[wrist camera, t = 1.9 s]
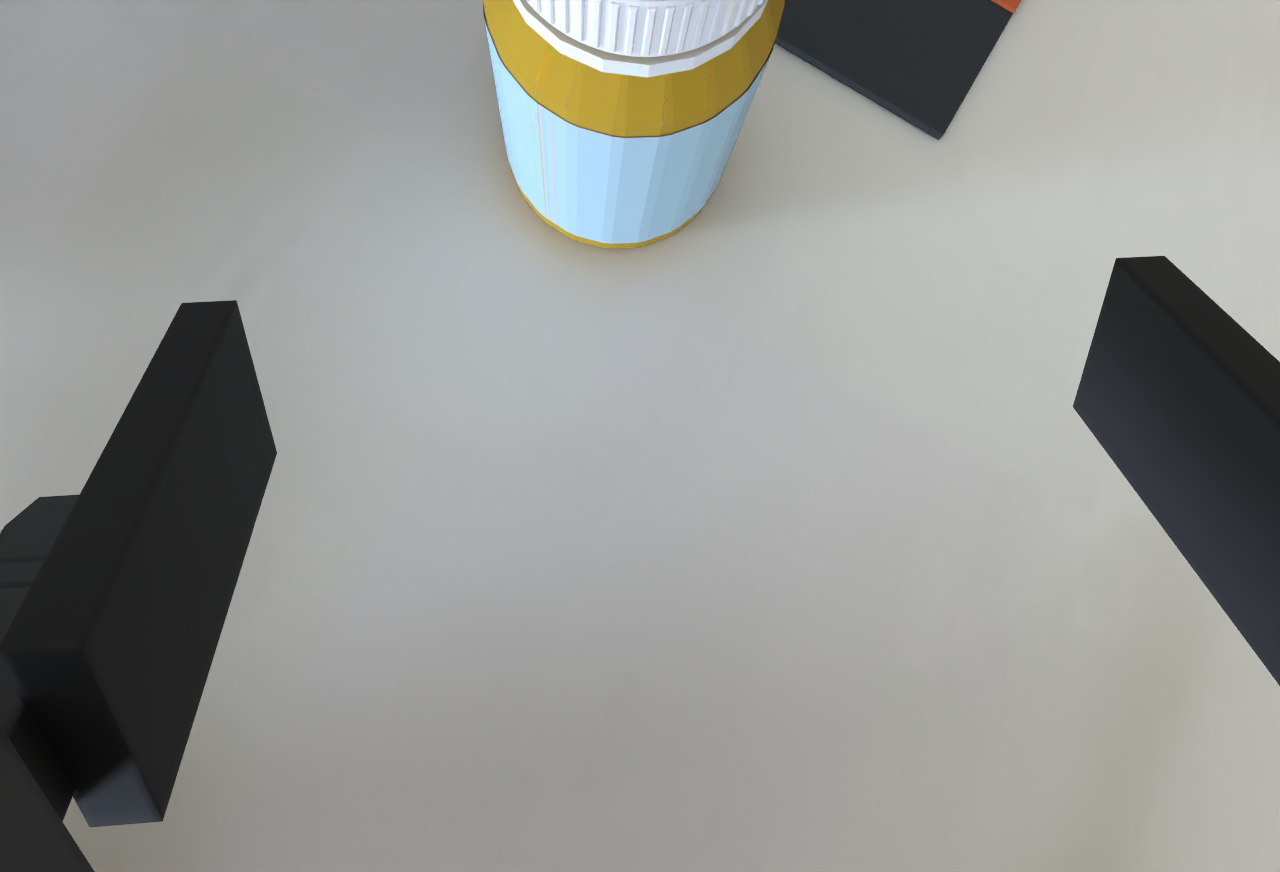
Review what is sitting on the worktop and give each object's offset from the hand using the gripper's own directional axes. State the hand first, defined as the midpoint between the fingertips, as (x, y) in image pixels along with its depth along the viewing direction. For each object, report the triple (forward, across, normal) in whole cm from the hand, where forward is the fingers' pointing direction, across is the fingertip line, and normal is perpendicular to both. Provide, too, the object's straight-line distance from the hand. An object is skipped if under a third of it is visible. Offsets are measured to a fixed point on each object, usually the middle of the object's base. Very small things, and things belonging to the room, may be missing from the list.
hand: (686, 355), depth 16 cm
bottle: (+20, 0, -4) cm, 20 cm away
